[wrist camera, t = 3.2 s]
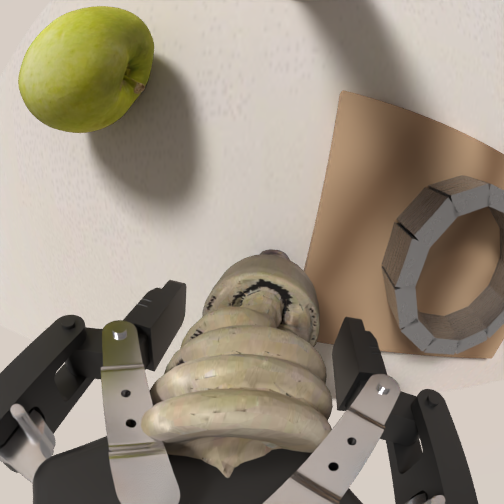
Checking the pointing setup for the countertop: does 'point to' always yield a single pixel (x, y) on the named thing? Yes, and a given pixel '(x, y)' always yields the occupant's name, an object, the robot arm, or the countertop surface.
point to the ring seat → (413, 258)
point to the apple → (86, 68)
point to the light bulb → (246, 370)
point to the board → (385, 214)
